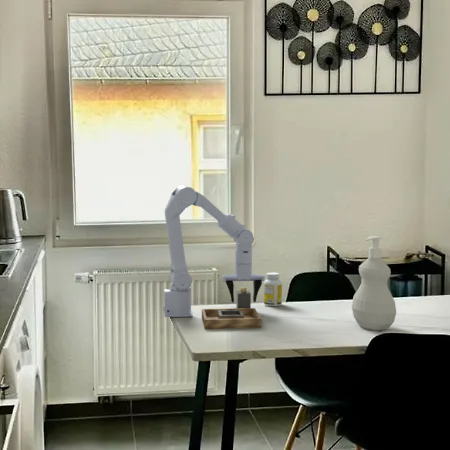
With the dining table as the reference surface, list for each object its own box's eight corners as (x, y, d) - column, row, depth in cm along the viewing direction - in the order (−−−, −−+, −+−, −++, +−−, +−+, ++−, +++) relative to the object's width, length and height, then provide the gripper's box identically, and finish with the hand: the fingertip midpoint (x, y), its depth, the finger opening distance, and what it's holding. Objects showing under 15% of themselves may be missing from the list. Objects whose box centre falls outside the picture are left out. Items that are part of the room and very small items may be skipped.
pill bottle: (281, 303, 290) (282, 272, 289) (281, 307, 284) (281, 275, 283) (264, 302, 291) (264, 271, 290) (263, 306, 285) (263, 274, 283)
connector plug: (237, 313, 273) (237, 289, 272) (236, 310, 277) (236, 286, 277) (250, 313, 273) (250, 289, 272) (248, 310, 278) (249, 286, 277)
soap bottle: (342, 324, 257) (344, 234, 254) (369, 320, 263) (371, 232, 260) (376, 335, 243) (379, 240, 240) (405, 331, 249) (407, 238, 246)
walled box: (204, 328, 250) (204, 319, 250) (201, 317, 266) (201, 308, 266) (260, 328, 252) (261, 318, 252) (254, 316, 268) (254, 308, 267)
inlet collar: (219, 323, 255) (219, 315, 254) (217, 317, 263) (217, 310, 262) (244, 322, 255) (244, 315, 255) (241, 317, 263) (241, 310, 263)
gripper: (262, 261, 278) (262, 298, 280) (221, 261, 277) (221, 299, 278) (265, 264, 271) (265, 303, 273) (223, 264, 270) (223, 303, 271)
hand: (243, 301), depth 275 cm, fingers open, 7 cm apart
